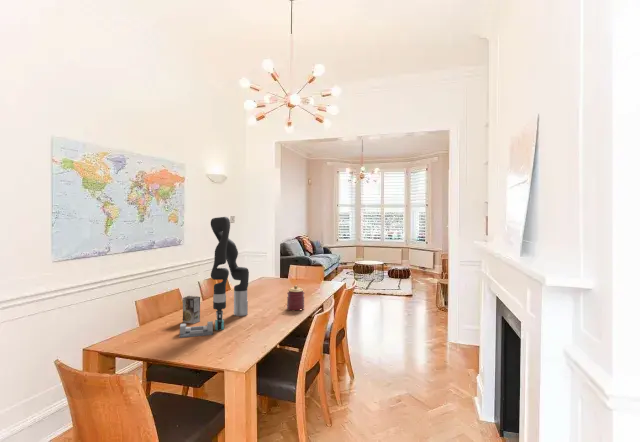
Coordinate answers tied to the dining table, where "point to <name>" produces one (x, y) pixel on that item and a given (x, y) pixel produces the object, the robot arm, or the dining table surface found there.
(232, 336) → the dining table surface
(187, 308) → the coffee box
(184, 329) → the shaft bench
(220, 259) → the robot arm
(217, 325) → the coupler
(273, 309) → the dining table surface
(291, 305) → the canister
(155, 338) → the dining table surface
